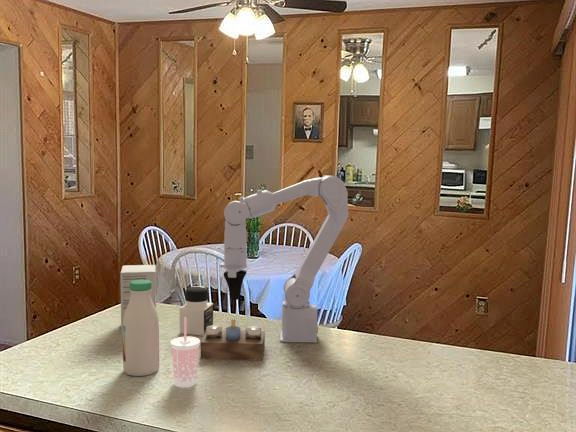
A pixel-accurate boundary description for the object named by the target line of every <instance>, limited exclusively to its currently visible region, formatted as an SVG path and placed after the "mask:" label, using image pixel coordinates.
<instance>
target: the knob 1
mask: <svg viewBox="0 0 576 432" xmlns="http://www.w3.org/2000/svg"><path fill="white" fill-rule="evenodd" d="M222 330H223V326H221V325H216V324H213V325H211V326H208V327H206V337H208V338H210V339H219V337H222Z"/></svg>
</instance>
